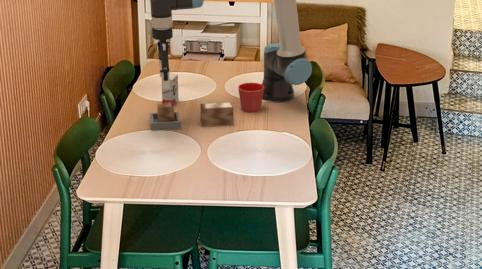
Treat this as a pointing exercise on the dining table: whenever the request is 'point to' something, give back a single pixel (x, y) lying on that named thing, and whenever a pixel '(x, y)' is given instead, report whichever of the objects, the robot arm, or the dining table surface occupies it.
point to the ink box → (171, 90)
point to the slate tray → (164, 125)
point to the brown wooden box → (216, 114)
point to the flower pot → (251, 96)
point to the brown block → (165, 112)
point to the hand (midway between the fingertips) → (164, 82)
